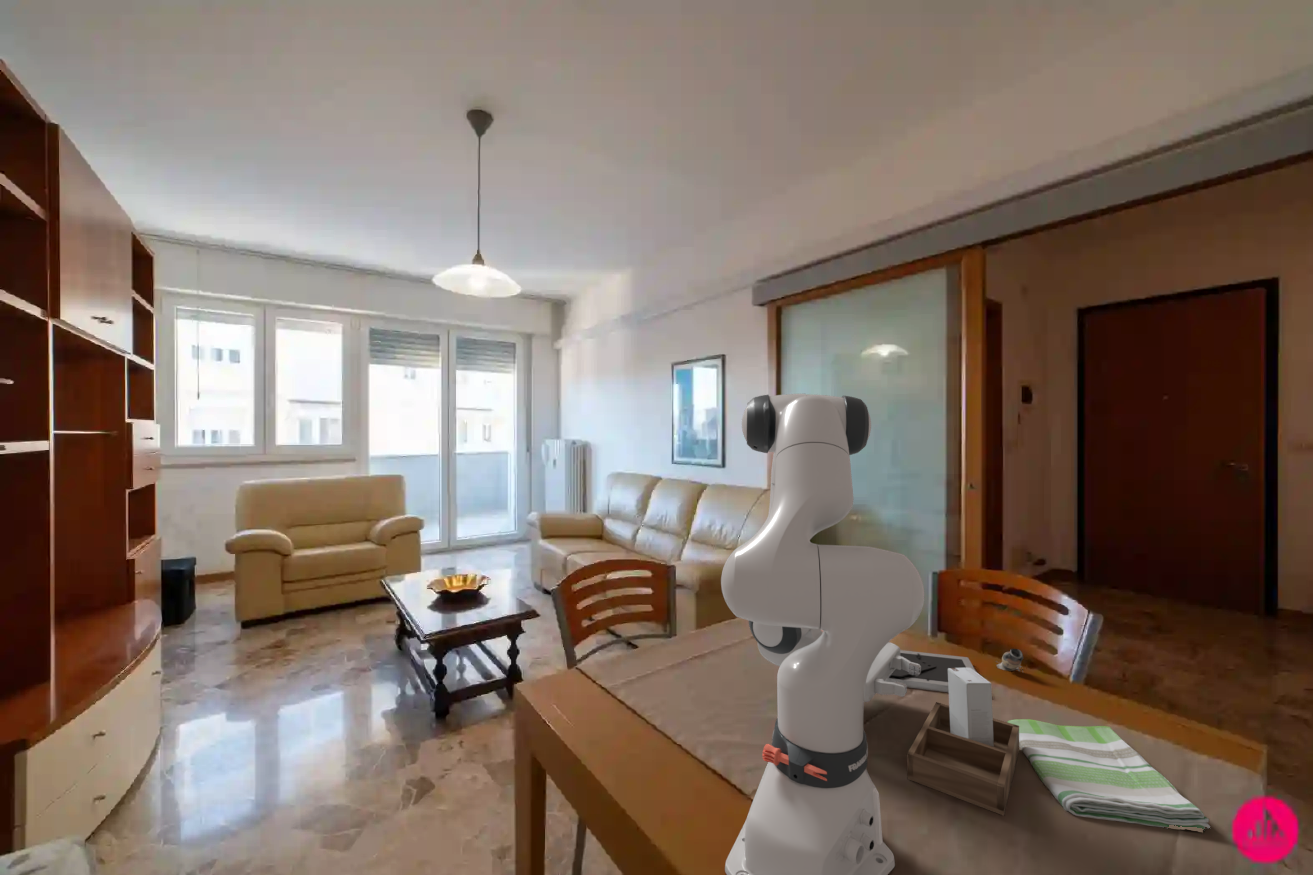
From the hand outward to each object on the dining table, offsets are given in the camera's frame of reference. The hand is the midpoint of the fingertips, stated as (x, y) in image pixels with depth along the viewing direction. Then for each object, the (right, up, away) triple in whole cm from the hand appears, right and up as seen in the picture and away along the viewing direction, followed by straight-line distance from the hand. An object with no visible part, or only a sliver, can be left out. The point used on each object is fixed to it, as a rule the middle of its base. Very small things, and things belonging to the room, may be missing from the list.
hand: (913, 680), depth 95 cm
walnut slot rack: (+4, -9, -9) cm, 14 cm away
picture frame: (+13, -9, +22) cm, 27 cm away
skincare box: (+7, -9, -6) cm, 12 cm away
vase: (+32, -8, +21) cm, 39 cm away
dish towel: (+23, -10, -12) cm, 27 cm away
